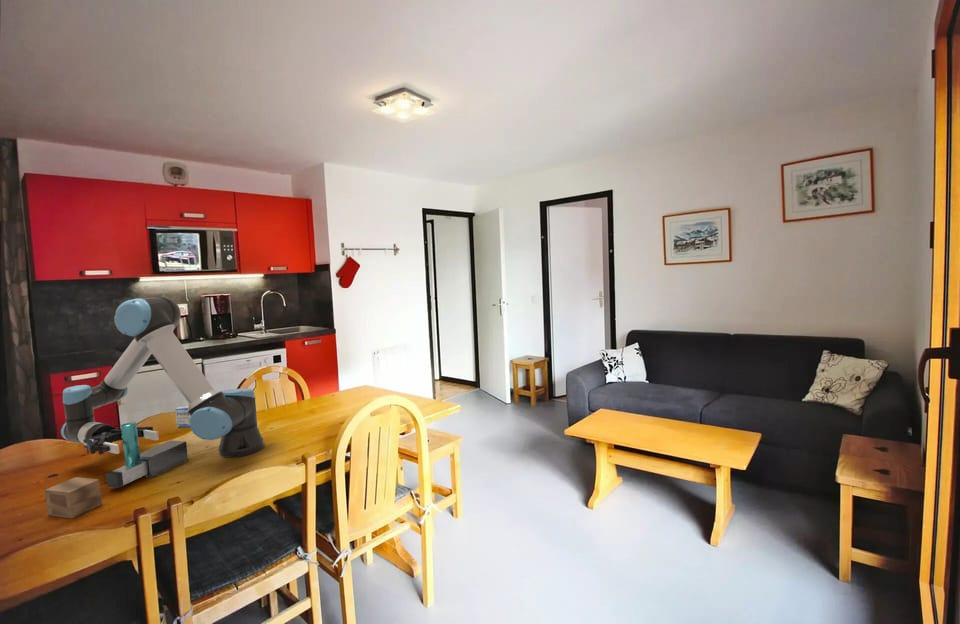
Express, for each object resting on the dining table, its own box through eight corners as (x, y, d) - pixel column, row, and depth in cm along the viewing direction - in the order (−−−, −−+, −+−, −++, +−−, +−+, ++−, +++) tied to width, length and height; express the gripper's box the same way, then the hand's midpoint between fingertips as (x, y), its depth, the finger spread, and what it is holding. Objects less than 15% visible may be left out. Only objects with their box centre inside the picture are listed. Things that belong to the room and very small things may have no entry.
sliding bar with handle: (172, 457, 168) (167, 408, 166) (182, 457, 167) (177, 409, 165) (107, 487, 145) (100, 431, 144) (118, 488, 144) (112, 432, 143)
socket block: (78, 501, 139) (75, 477, 139) (101, 504, 137) (98, 479, 137) (48, 515, 132) (44, 489, 131) (72, 518, 130) (69, 492, 129)
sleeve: (172, 459, 169) (170, 440, 168) (187, 460, 167) (186, 441, 167) (135, 476, 156) (133, 456, 155) (152, 477, 154) (149, 457, 153)
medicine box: (176, 428, 203) (174, 408, 202) (181, 424, 208) (179, 405, 207) (196, 426, 205) (194, 407, 204) (200, 423, 209) (198, 404, 208)
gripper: (136, 433, 169) (176, 440, 160) (56, 458, 147) (97, 468, 139) (134, 413, 168) (173, 419, 159) (53, 435, 147) (94, 444, 138)
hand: (138, 442), depth 149 cm, fingers open, 11 cm apart
